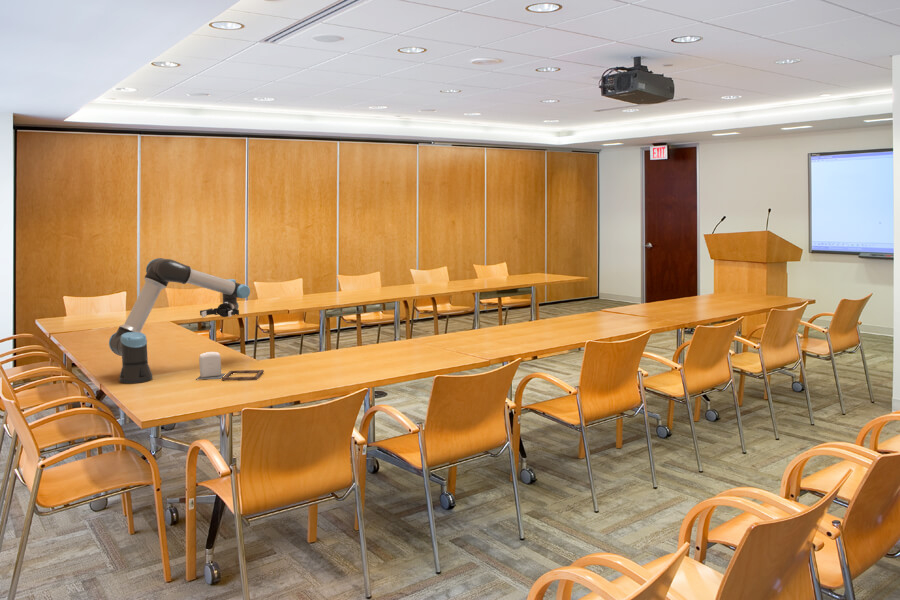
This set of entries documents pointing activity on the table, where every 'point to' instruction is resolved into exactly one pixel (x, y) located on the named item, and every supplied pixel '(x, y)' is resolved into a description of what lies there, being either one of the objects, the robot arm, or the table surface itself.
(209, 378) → the rubber mat
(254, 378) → the walnut frame
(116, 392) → the table surface
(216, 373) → the photo printer
